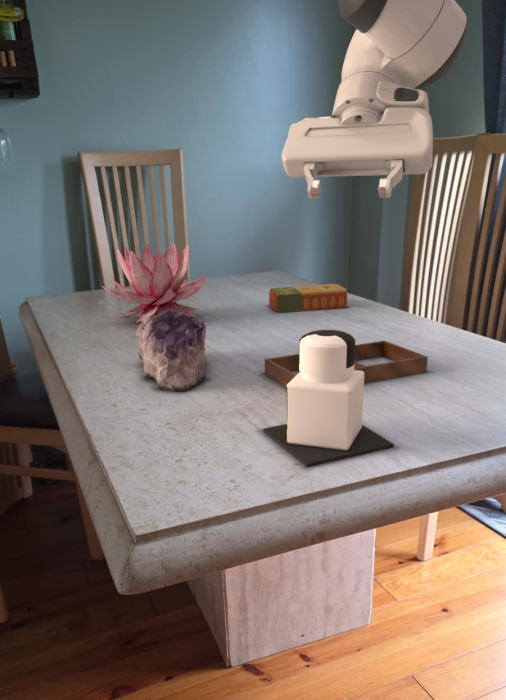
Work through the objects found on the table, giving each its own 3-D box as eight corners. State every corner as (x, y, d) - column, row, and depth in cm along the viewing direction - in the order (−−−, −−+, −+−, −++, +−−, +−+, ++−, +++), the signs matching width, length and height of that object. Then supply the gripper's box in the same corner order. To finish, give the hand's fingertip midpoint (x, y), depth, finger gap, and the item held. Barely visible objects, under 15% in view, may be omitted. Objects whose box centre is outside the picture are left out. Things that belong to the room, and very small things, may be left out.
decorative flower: (100, 334, 123) (89, 254, 117) (118, 311, 142) (109, 242, 136) (208, 329, 123) (203, 250, 117) (211, 308, 143) (207, 239, 136)
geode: (229, 387, 90) (216, 321, 86) (151, 406, 89) (134, 339, 84) (205, 347, 108) (194, 290, 103) (140, 362, 106) (125, 305, 102)
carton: (347, 308, 138) (347, 288, 136) (276, 313, 135) (276, 293, 134) (336, 301, 145) (336, 282, 143) (268, 305, 143) (268, 286, 141)
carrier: (383, 355, 103) (384, 340, 102) (426, 372, 94) (428, 356, 93) (264, 374, 95) (264, 358, 94) (298, 396, 86) (298, 378, 85)
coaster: (341, 416, 79) (342, 412, 78) (393, 448, 69) (393, 443, 69) (263, 432, 75) (263, 428, 74) (306, 468, 65) (307, 463, 65)
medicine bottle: (304, 421, 76) (305, 324, 71) (362, 428, 74) (367, 327, 69) (286, 444, 70) (285, 339, 65) (348, 452, 68) (352, 344, 63)
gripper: (287, 100, 87) (267, 178, 82) (439, 90, 80) (426, 174, 76) (296, 137, 92) (277, 212, 88) (438, 130, 86) (426, 211, 82)
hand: (347, 195), depth 82 cm, fingers open, 8 cm apart
